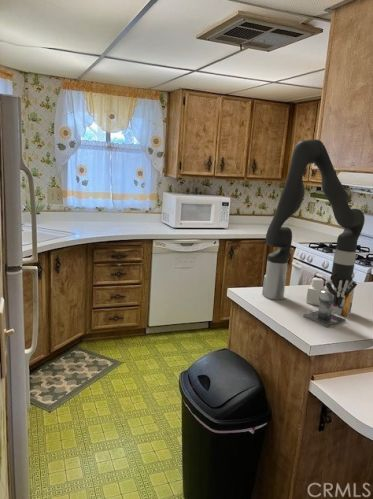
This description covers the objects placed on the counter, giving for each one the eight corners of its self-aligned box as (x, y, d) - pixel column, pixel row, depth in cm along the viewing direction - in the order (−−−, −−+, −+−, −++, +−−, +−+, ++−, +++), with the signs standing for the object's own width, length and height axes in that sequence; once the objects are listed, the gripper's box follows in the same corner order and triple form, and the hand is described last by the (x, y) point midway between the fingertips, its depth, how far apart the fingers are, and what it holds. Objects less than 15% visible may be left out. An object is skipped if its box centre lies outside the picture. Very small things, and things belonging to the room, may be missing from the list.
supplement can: (327, 311, 177) (331, 278, 173) (335, 307, 182) (340, 275, 179) (345, 317, 171) (350, 283, 168) (353, 312, 177) (358, 279, 173)
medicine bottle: (310, 298, 192) (313, 274, 189) (325, 302, 188) (328, 277, 186) (306, 303, 186) (309, 277, 183) (321, 306, 182) (325, 281, 180)
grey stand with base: (302, 316, 168) (305, 299, 167) (321, 312, 175) (323, 295, 174) (327, 327, 159) (329, 309, 157) (345, 321, 166) (348, 304, 164)
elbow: (314, 307, 167) (317, 285, 165) (324, 305, 170) (327, 283, 168) (342, 319, 156) (345, 295, 154) (352, 316, 159) (355, 293, 157)
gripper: (332, 263, 148) (326, 308, 151) (365, 264, 150) (358, 308, 154) (322, 258, 155) (316, 301, 159) (354, 259, 157) (347, 301, 161)
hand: (337, 305), depth 156 cm, fingers closed
